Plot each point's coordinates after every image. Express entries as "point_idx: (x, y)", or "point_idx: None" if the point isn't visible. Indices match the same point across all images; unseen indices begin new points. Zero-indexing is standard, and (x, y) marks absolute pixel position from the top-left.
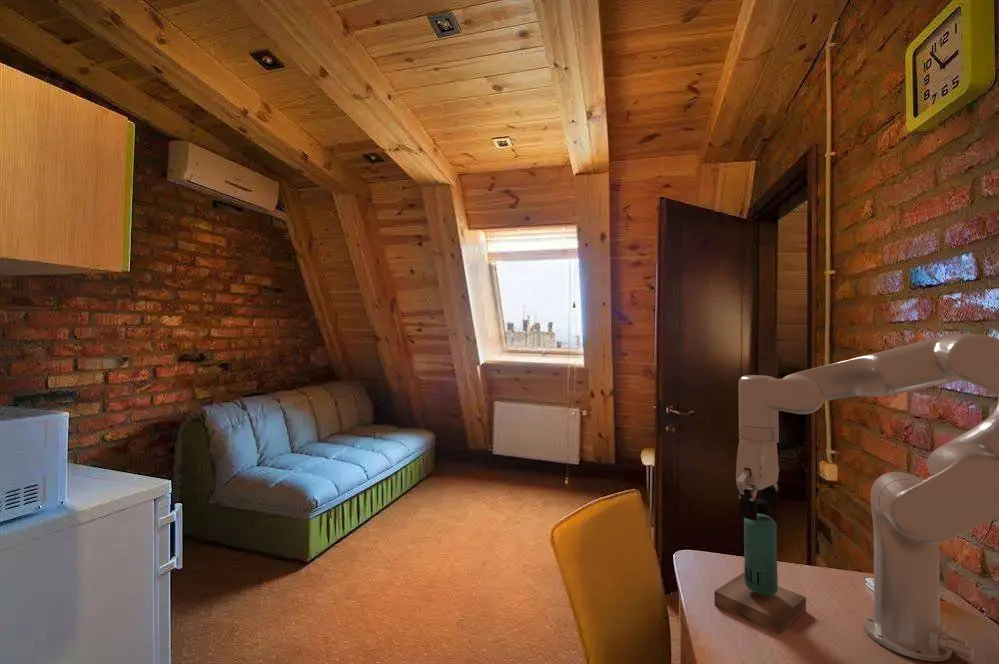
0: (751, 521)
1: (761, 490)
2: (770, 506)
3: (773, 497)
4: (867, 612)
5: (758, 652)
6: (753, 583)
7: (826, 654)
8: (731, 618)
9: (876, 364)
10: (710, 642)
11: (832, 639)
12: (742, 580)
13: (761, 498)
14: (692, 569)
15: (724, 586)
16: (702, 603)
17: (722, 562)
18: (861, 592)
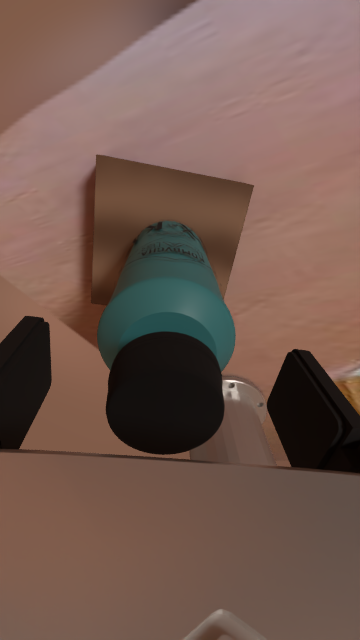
0: (109, 330)
1: (336, 418)
2: (277, 393)
3: (292, 450)
4: (272, 371)
5: (16, 278)
6: (128, 255)
7: None
8: (80, 207)
9: None
10: None
11: None
12: (206, 197)
13: (308, 377)
14: (258, 9)
15: (141, 168)
16: (86, 125)
17: (357, 84)
18: (341, 358)
